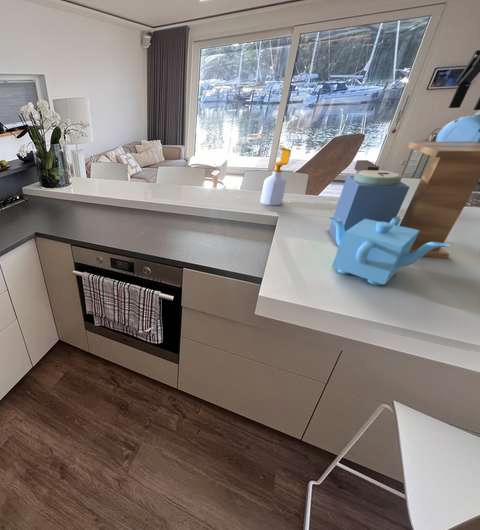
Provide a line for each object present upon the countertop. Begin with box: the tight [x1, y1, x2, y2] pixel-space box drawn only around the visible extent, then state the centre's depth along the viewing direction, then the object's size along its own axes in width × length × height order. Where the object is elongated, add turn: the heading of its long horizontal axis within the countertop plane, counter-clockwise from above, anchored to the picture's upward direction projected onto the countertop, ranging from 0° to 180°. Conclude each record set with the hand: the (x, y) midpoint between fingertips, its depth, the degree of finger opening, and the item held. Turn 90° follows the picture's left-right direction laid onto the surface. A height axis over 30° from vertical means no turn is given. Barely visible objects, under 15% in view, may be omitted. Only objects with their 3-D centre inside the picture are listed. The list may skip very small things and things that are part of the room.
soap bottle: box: [259, 146, 291, 207], centre depth 128 cm, size 9×9×25 cm
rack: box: [398, 141, 480, 259], centre depth 85 cm, size 16×14×30 cm
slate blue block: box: [328, 175, 411, 247], centre depth 92 cm, size 12×12×20 cm
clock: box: [353, 159, 403, 185], centre depth 91 cm, size 22×11×3 cm, turn 159°
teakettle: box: [328, 216, 451, 286], centre depth 77 cm, size 19×19×15 cm
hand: (465, 108), depth 95 cm, fingers open, 13 cm apart
